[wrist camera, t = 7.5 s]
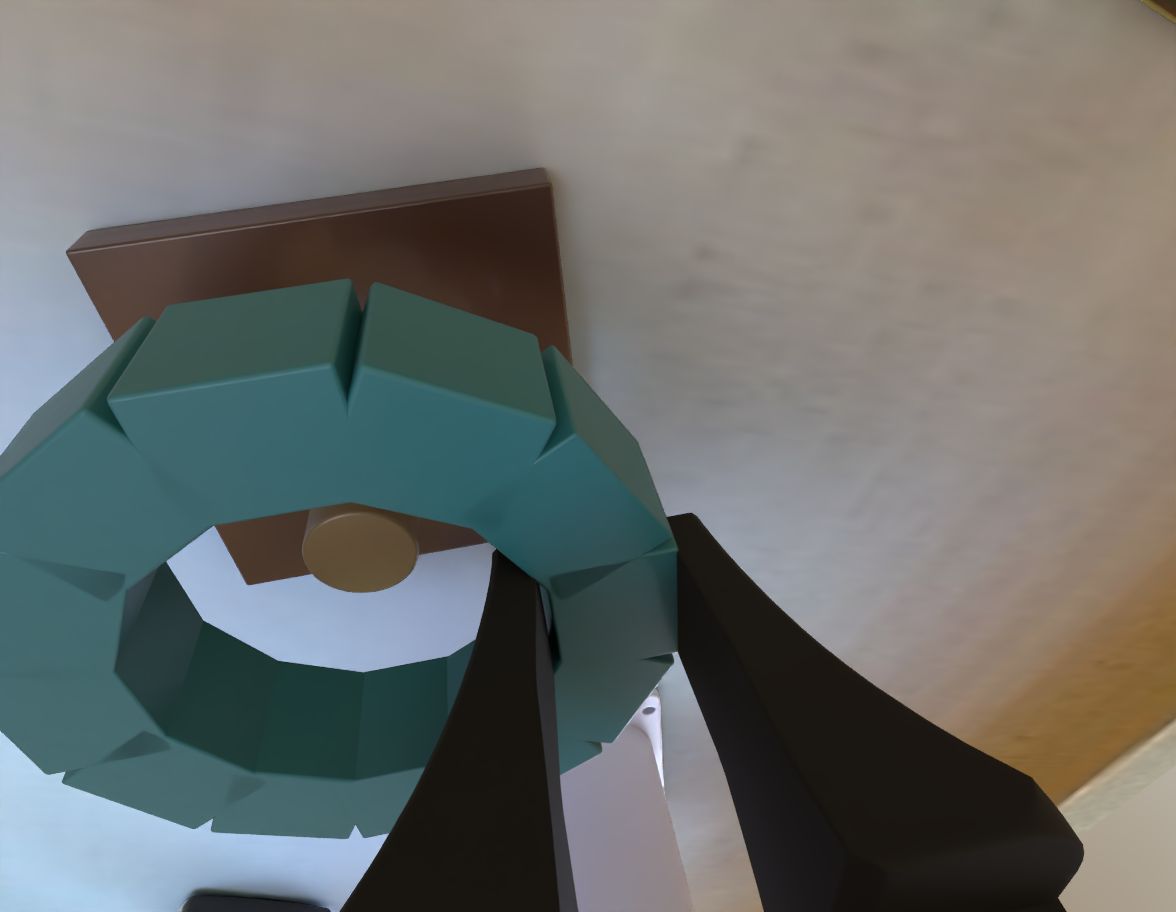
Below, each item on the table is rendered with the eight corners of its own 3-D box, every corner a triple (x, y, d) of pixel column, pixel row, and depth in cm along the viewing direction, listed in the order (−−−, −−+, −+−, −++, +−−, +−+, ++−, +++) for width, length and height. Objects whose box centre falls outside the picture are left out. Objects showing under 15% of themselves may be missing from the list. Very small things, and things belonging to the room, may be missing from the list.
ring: (654, 674, 18) (682, 773, 16) (189, 766, 17) (157, 882, 15) (632, 234, 11) (675, 309, 9) (-144, 349, 10) (-285, 459, 8)
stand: (584, 499, 23) (625, 663, 18) (254, 556, 22) (203, 745, 17) (545, 166, 17) (591, 277, 12) (85, 229, 16) (-72, 378, 11)
